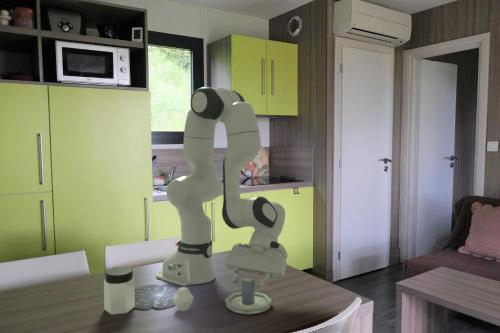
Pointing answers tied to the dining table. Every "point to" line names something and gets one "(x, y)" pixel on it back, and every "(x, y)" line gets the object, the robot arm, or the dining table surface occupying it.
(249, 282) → the ball
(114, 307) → the jar
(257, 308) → the plate
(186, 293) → the muffin
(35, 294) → the dining table surface
